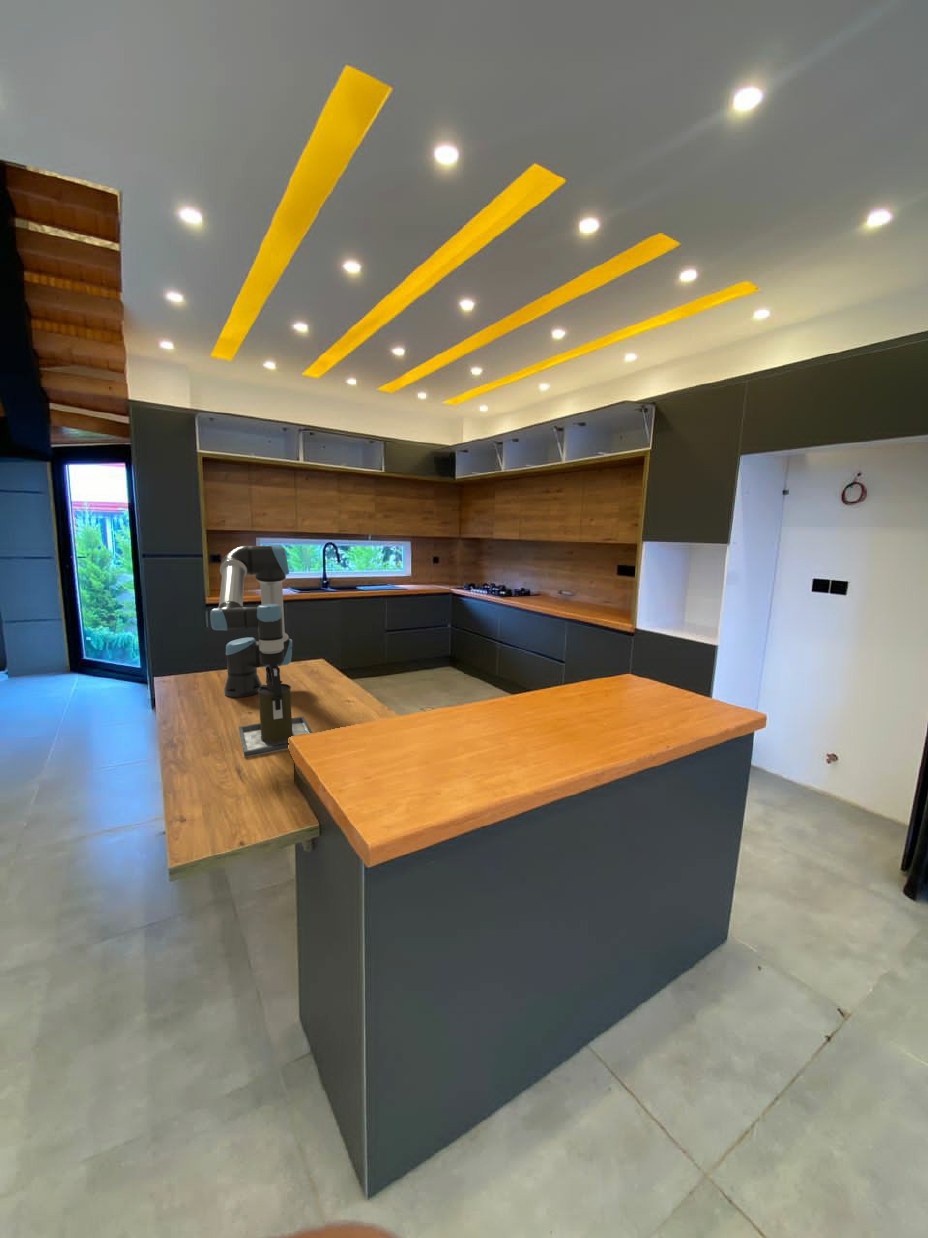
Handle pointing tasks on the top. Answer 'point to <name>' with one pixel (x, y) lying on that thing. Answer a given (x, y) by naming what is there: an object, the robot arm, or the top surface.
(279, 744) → the shallow grey tray
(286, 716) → the canister
